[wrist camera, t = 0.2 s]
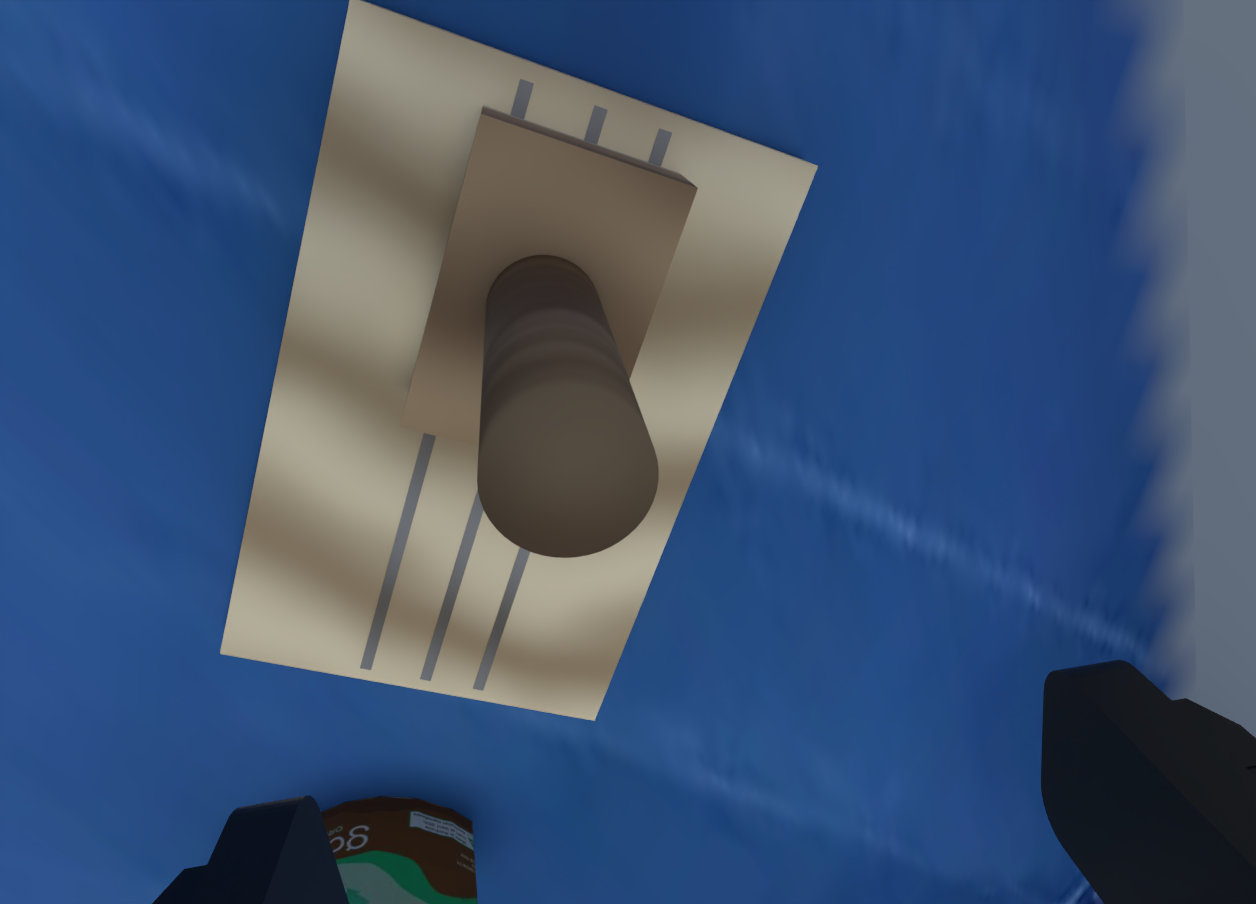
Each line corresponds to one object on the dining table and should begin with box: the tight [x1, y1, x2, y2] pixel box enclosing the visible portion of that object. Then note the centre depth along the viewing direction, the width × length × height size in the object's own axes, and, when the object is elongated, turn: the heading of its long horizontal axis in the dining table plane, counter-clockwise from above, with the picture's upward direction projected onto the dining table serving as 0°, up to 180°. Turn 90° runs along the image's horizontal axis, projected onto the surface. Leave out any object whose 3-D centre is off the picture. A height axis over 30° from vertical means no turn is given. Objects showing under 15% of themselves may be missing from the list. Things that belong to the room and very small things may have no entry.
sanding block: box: [400, 105, 698, 558], centre depth 22 cm, size 9×6×13 cm, turn 161°
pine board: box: [220, 0, 818, 721], centre depth 30 cm, size 22×14×2 cm, turn 161°
